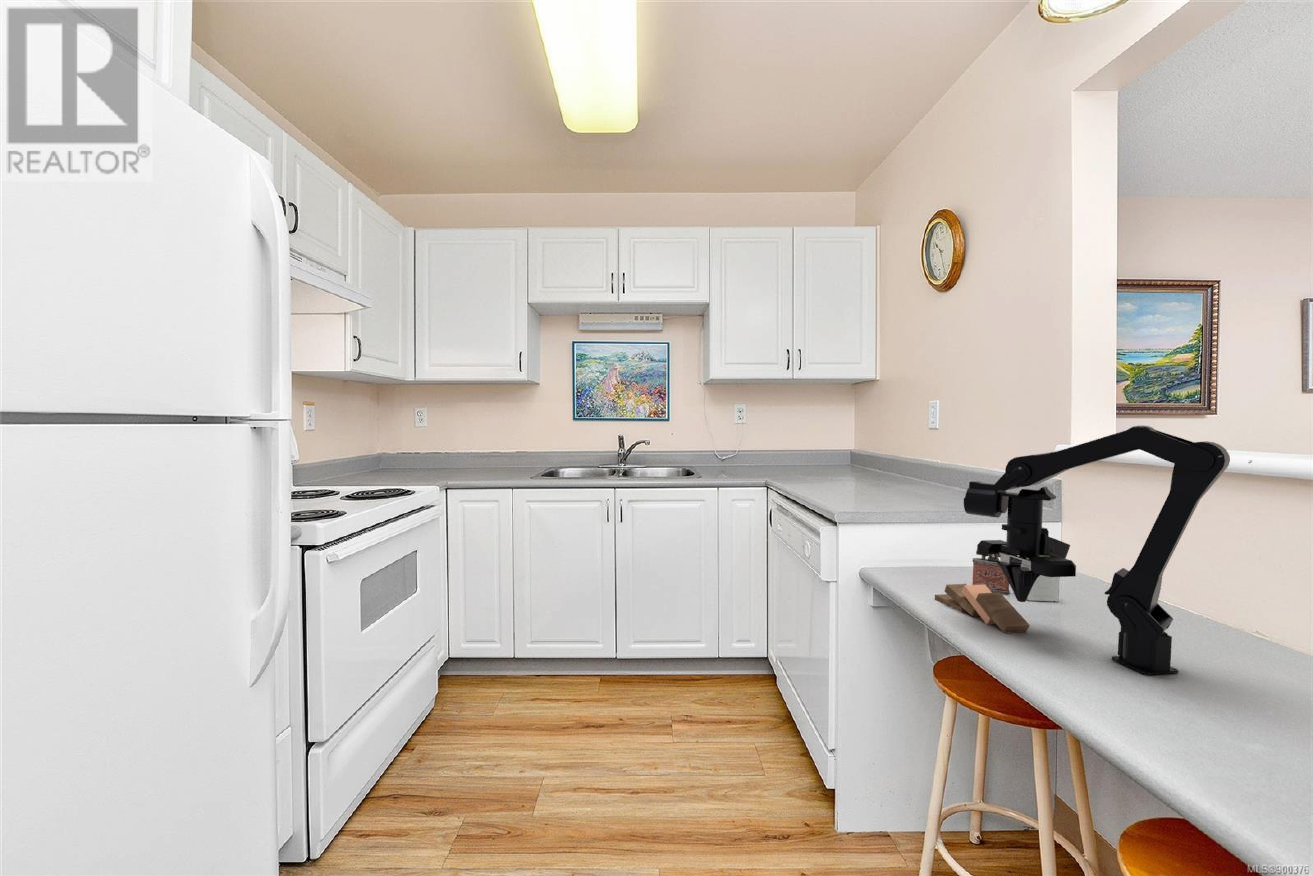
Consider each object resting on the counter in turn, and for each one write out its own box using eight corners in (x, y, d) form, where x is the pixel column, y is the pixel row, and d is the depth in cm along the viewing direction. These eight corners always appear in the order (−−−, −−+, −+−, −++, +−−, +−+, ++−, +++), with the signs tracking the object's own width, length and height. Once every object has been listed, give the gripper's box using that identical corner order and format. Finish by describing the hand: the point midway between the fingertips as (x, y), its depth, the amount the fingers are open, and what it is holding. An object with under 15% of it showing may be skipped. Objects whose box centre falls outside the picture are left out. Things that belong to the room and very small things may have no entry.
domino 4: (1029, 625, 116) (1000, 592, 124) (1007, 626, 115) (978, 593, 123) (1026, 631, 117) (996, 598, 125) (1003, 633, 116) (975, 599, 124)
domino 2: (994, 607, 125) (965, 583, 133) (974, 608, 124) (946, 584, 132) (992, 614, 126) (963, 590, 134) (971, 616, 125) (944, 591, 133)
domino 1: (982, 606, 129) (954, 594, 138) (961, 607, 128) (934, 594, 137) (981, 614, 129) (953, 601, 138) (961, 615, 128) (934, 602, 137)
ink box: (1049, 597, 140) (1052, 540, 139) (1059, 602, 136) (1061, 544, 135) (1018, 596, 141) (1020, 539, 140) (1027, 601, 137) (1029, 543, 136)
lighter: (1009, 592, 143) (1011, 551, 143) (1009, 595, 140) (1011, 554, 140) (972, 586, 148) (973, 547, 147) (970, 590, 145) (972, 549, 144)
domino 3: (986, 624, 121) (961, 591, 128) (1008, 623, 121) (981, 590, 129) (990, 618, 120) (964, 585, 127) (1011, 617, 120) (985, 584, 128)
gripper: (1104, 529, 106) (1100, 616, 107) (1024, 512, 125) (1021, 586, 125) (1049, 530, 104) (1045, 618, 105) (976, 513, 123) (973, 588, 123)
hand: (1021, 601), depth 115 cm, fingers closed
